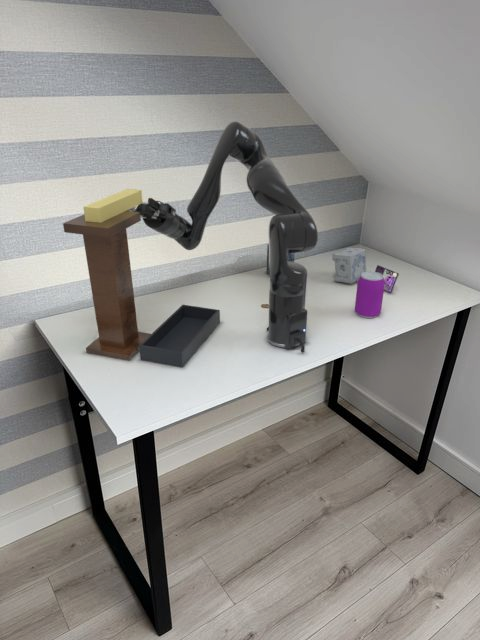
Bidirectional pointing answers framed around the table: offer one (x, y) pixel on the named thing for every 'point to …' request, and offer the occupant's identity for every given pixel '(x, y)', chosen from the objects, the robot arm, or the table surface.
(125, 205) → the butter
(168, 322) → the pan
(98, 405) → the table surface
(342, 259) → the incense holder
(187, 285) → the table surface
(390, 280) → the game card
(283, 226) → the robot arm
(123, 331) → the shelf stand
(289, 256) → the box
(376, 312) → the beverage can
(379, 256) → the table surface
